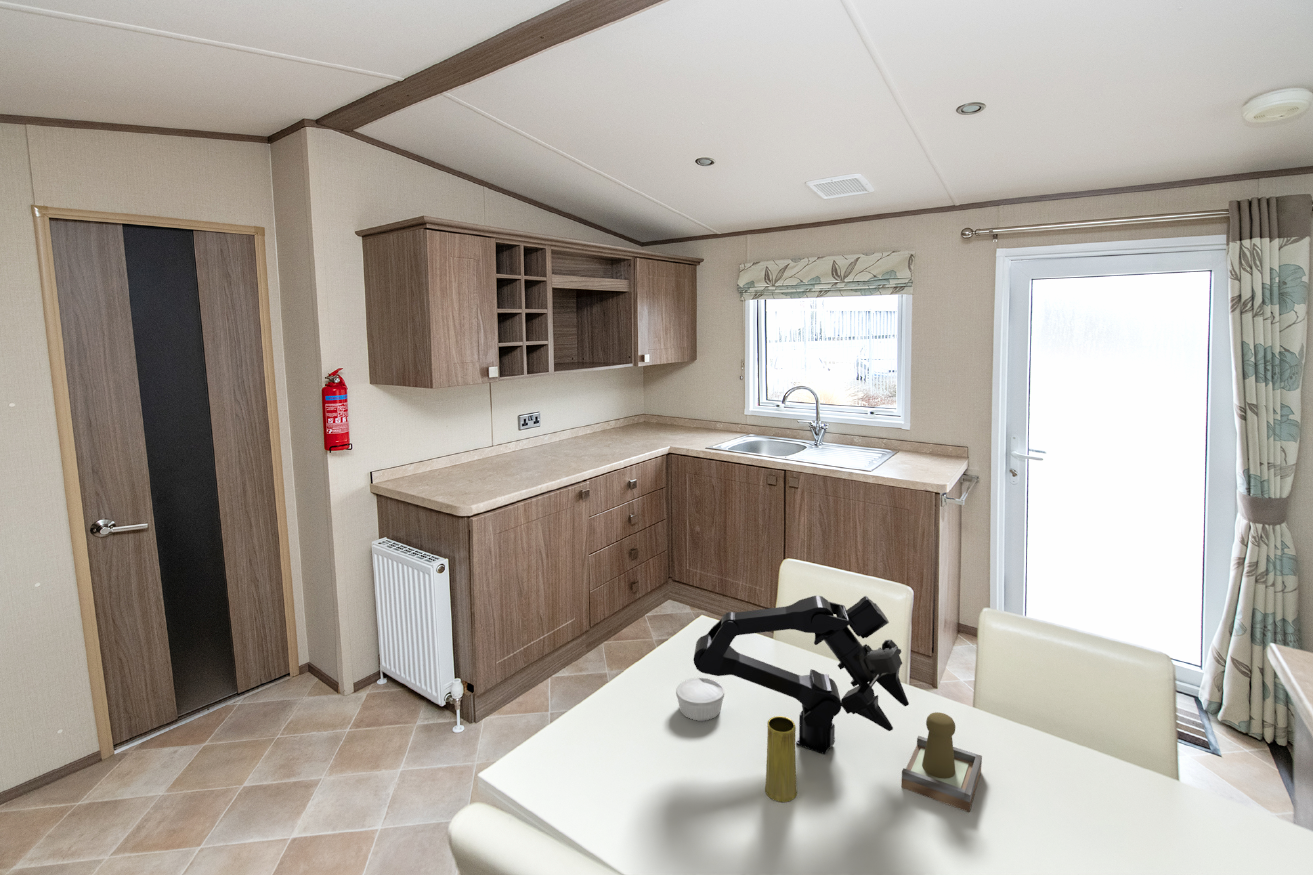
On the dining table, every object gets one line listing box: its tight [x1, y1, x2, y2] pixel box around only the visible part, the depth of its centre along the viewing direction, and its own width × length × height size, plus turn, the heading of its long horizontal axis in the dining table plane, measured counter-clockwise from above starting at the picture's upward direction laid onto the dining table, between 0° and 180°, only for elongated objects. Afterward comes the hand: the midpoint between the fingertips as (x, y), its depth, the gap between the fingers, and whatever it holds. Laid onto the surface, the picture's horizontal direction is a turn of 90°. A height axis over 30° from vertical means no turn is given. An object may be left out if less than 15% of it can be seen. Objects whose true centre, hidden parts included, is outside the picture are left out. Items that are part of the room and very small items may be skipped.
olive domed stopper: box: [922, 711, 956, 779], centre depth 126 cm, size 6×6×11 cm
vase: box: [764, 715, 798, 803], centre depth 124 cm, size 6×6×14 cm
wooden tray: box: [900, 735, 983, 813], centre depth 126 cm, size 12×13×4 cm
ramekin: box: [675, 677, 725, 722], centre depth 152 cm, size 11×11×5 cm
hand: (899, 717), depth 130 cm, fingers open, 9 cm apart
